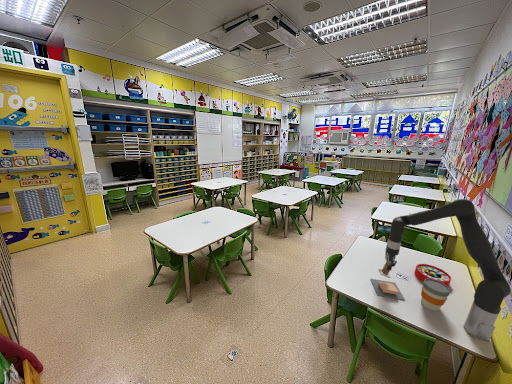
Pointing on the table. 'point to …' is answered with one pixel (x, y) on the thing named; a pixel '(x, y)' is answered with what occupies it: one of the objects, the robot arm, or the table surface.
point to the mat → (381, 293)
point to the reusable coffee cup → (434, 294)
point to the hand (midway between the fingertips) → (388, 268)
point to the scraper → (385, 270)
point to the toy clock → (432, 273)
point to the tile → (388, 288)
